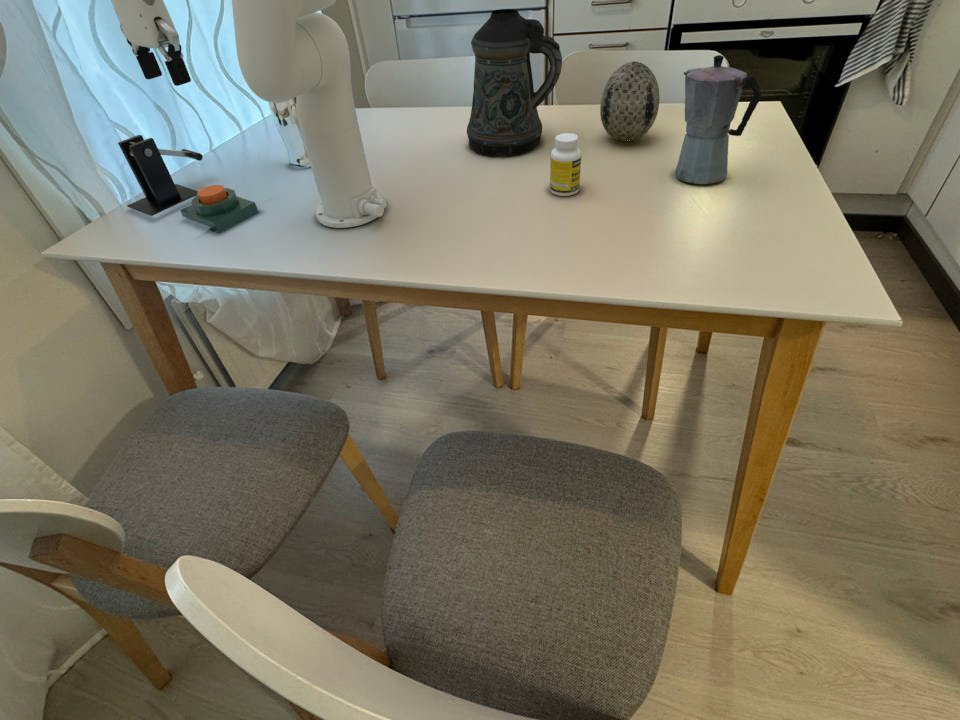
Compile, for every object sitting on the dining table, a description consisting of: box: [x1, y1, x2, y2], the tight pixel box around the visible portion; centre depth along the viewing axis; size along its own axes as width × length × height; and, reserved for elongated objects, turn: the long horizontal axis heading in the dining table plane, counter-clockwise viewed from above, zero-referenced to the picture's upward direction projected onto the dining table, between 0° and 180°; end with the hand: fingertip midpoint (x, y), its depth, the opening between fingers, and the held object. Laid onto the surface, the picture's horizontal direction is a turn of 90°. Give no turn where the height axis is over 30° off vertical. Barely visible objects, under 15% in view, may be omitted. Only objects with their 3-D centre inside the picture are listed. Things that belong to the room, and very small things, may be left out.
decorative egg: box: [599, 61, 660, 143], centre depth 112 cm, size 12×12×15 cm
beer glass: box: [267, 97, 311, 169], centre depth 117 cm, size 7×7×15 cm
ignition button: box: [196, 184, 227, 204], centre depth 102 cm, size 5×5×2 cm
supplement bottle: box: [549, 132, 582, 197], centre depth 98 cm, size 5×5×10 cm
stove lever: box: [129, 142, 204, 162], centre depth 108 cm, size 12×6×2 cm, turn 145°
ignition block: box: [180, 187, 259, 235], centre depth 103 cm, size 11×9×4 cm
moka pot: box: [675, 54, 762, 185], centre depth 95 cm, size 10×15×20 cm, turn 36°
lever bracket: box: [117, 134, 199, 217], centre depth 107 cm, size 11×9×13 cm
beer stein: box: [466, 8, 563, 158], centre depth 113 cm, size 16×19×25 cm
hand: (168, 80), depth 102 cm, fingers open, 9 cm apart
